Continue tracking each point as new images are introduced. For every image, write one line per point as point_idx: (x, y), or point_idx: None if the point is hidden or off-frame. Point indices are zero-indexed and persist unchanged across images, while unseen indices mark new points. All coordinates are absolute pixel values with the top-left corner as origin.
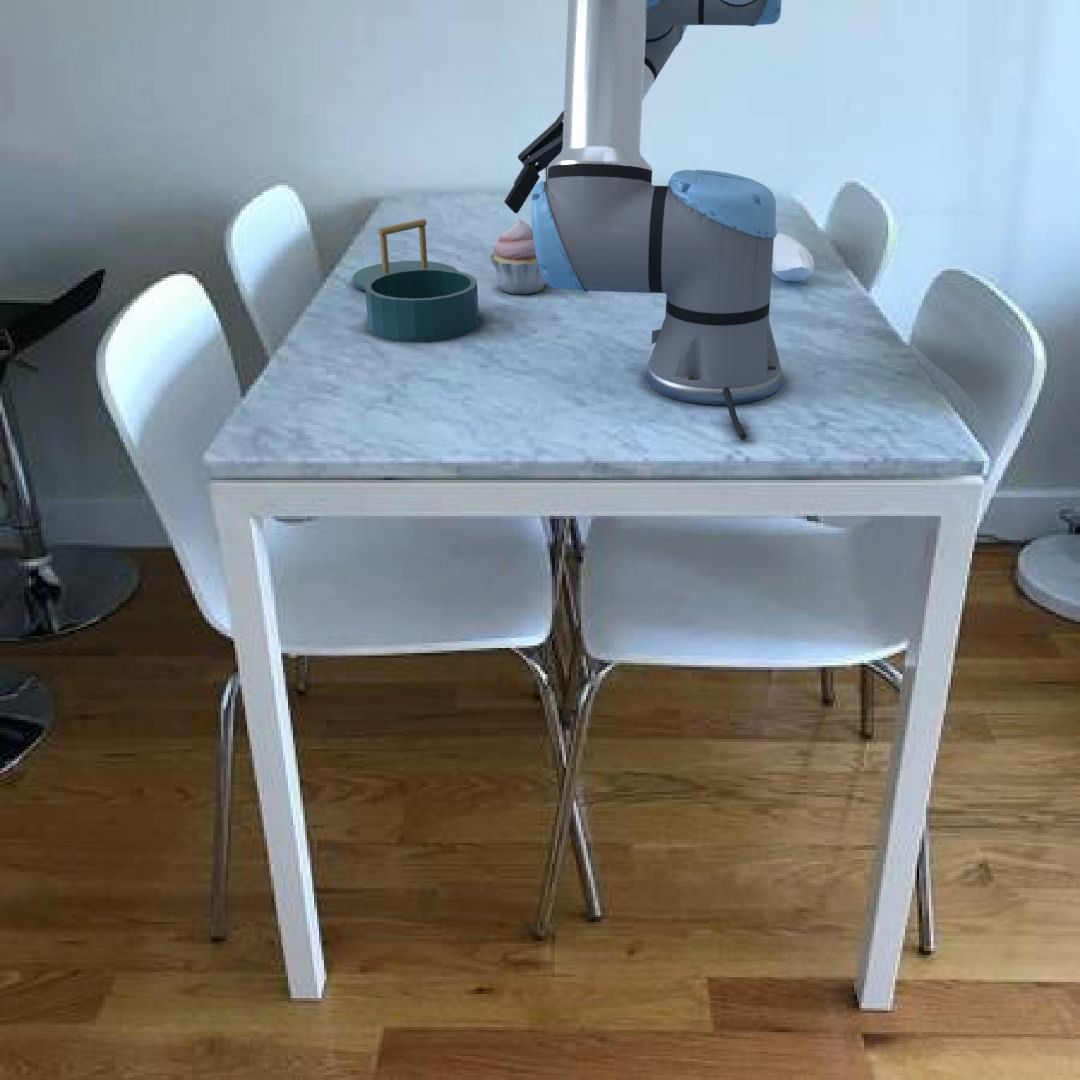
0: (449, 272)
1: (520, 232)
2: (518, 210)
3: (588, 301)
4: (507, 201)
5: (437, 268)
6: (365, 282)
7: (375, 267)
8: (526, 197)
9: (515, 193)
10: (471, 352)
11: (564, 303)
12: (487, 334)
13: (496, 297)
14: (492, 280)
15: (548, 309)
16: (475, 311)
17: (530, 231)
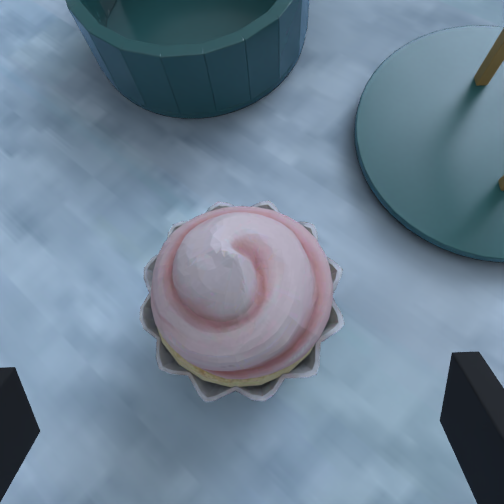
0: (216, 39)
1: (190, 237)
2: (445, 428)
3: (46, 368)
4: (457, 355)
5: (499, 217)
6: (488, 40)
7: None
8: (479, 501)
9: (478, 413)
10: (22, 14)
11: (82, 312)
12: (66, 77)
13: None
14: (366, 308)
15: (80, 255)
16: (98, 59)
17: (179, 278)
